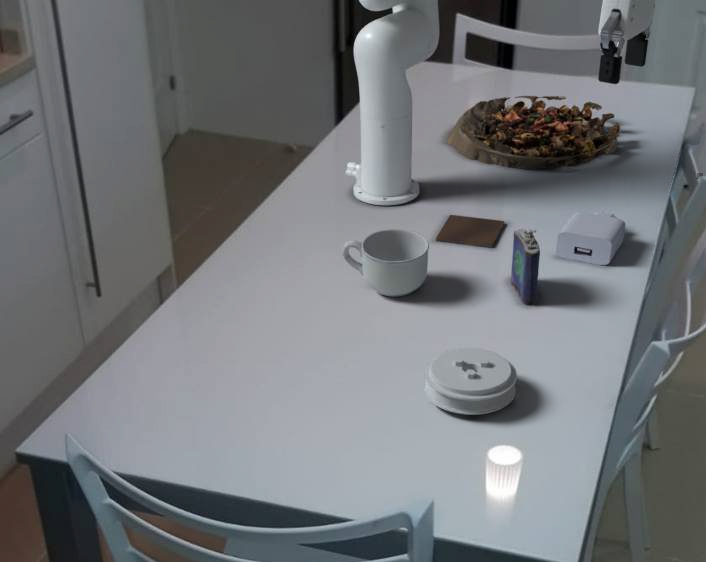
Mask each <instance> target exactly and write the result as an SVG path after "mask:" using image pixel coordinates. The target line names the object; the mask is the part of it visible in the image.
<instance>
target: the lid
mask: <svg viewBox="0 0 706 562" xmlns="http://www.w3.org/2000/svg"><path fill="white" fill-rule="evenodd" d="M424 379H425V382H424V388H423V389H424V394H425V396H426V398H427V399H428V400H429V401H430V402H431V403H432V404H433V405H434V406H436V407H438V408H440V409H442V410H445V411H447V412H450V413H454V414H460V415H469V416H470V415H471V416H475V415H484V414H490V413H494V412H497V411H500V410H502V409H503V408H505V407H507V406H508V405H509V404H510V403H512V401H513V400H514V399H515V396H516V390H517V389H516V385H515V384H517V379H518V373H517V369H516V368H515V366H514V365H513V364H512V362H511V361H509V360H508V359H506V358H505V357H503V356H502V355H501V354H499V353H496V352H495V351H491V350H488V349H483V348H479V347H478V348H477V347H461V348H454V349H451V350H447V351H445V352H443V353H440V354H439V355H436V356H435V357H434V358H432V359H431V360H430V361H429V362H428V363H427V365H426V366H425V369H424Z"/></svg>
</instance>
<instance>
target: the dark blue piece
mask: <svg viewBox="0 0 706 562" xmlns="http://www.w3.org/2000/svg"><path fill="white" fill-rule="evenodd" d="M534 233H537V230H536V229H534V228H533V229H527V230H526V229H523V228H520V229H516V230H514V231H513V240H512V241H513V242H512V258H511V270H510V284H511V286H513V288H514V292H515V293H517V294H518V297H520V301H521V304H523V305H526V306H527V307H528V306H534V305H536V304H537V301H538V283H539V281H538V280H539V268H540V258H541V250H540V244H539V243H538V241H537V239H536V237H535V236H534Z"/></svg>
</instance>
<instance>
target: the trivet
mask: <svg viewBox="0 0 706 562" xmlns="http://www.w3.org/2000/svg"><path fill="white" fill-rule="evenodd" d="M504 225H505V220H499V219H498V220H497V219H489V218H481V217H473V216H465V215H456V214H449V216H448V218H447V219H446V220H445V222H444V224H443V226H442V227H441V229H440V231H439V232H438V234H437V235H436V237H435V241H436V242H442V243H449V244H450V243H451V244H460V245H468V246H475V247H483V248H493V246H494V244H495V243H496V240H497V239H498V237H499V235H500V233H501V230H502V229H503V227H504Z"/></svg>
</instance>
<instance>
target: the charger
mask: <svg viewBox="0 0 706 562" xmlns="http://www.w3.org/2000/svg"><path fill="white" fill-rule="evenodd" d="M625 231H626V222H625V221H624V220H623V219H621V218H618V217H617V216H615V214H614V213H607V212H603V211H597V212H593V213H588V212H584V211H583V212H582V211H577V212H574V213H573V214H572V216H570V218H569V219H568V221H567V222H566V223H565V225H564V226H563V227H562V228H561V230H560V231H559V233H557V239H556V249H555V254H556V255H557V256H558V257H560V258H562V259H567V260H570V261H571V260H572V261H577V262H582V263H587V264H593V265H598V266H606V265H609V264H610V263H611V262H612V260H613V258H614V256H615V254H616V253H617V251H618V250H619V248H620V247H621V245H622V244H623V243H624V238H625Z"/></svg>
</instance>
